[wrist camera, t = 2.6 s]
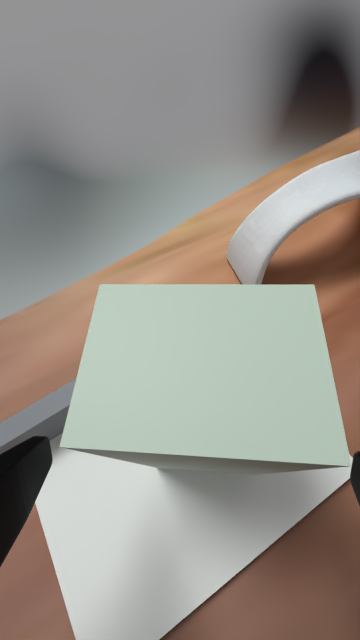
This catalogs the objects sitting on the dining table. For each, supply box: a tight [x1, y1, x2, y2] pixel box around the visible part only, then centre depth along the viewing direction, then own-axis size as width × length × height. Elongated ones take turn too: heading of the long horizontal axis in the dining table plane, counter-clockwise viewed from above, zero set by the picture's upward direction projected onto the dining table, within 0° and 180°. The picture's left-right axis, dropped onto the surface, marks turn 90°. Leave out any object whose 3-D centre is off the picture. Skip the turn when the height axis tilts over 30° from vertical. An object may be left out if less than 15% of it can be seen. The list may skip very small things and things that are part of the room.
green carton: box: [60, 284, 351, 475], centre depth 12 cm, size 6×4×12 cm
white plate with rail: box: [0, 379, 353, 640], centre depth 15 cm, size 16×12×4 cm
